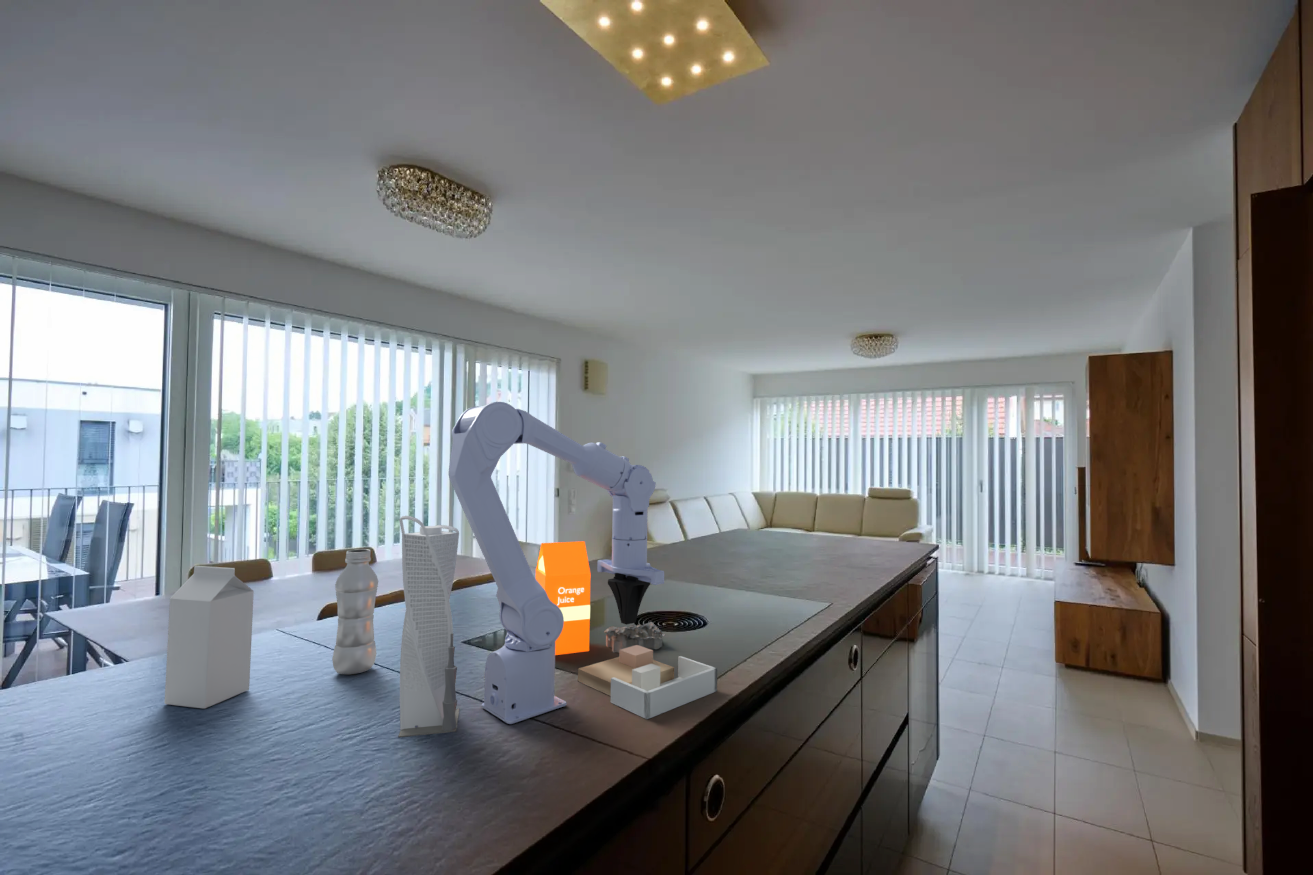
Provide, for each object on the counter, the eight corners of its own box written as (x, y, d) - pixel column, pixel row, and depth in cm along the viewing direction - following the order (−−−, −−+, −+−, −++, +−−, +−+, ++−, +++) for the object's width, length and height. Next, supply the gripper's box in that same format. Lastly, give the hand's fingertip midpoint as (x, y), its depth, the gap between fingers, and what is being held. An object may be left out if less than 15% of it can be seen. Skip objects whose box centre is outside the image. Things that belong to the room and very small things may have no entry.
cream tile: (631, 696, 88) (640, 700, 86) (632, 669, 88) (641, 673, 86) (650, 689, 90) (660, 693, 89) (651, 663, 91) (660, 666, 89)
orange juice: (533, 644, 113) (535, 540, 114) (577, 639, 117) (579, 538, 118) (543, 657, 106) (545, 545, 107) (589, 651, 110) (591, 543, 111)
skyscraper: (385, 740, 74) (393, 518, 75) (396, 714, 82) (403, 513, 83) (456, 733, 76) (462, 517, 78) (459, 708, 84) (465, 512, 85)
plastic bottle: (384, 666, 100) (388, 548, 101) (360, 680, 93) (364, 554, 94) (348, 664, 101) (352, 547, 102) (322, 678, 94) (327, 553, 95)
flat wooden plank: (618, 699, 87) (618, 685, 87) (577, 681, 94) (578, 668, 94) (674, 679, 96) (674, 667, 96) (633, 664, 103) (633, 652, 103)
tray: (646, 719, 81) (647, 693, 81) (610, 702, 86) (610, 678, 86) (716, 690, 91) (717, 668, 91) (680, 677, 97) (680, 655, 97)
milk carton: (204, 709, 82) (211, 572, 82) (163, 705, 83) (170, 570, 84) (249, 690, 89) (255, 564, 89) (210, 686, 90) (217, 562, 91)
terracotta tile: (635, 668, 95) (635, 655, 95) (619, 661, 98) (619, 649, 98) (652, 662, 98) (653, 650, 98) (636, 656, 101) (637, 644, 101)
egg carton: (613, 656, 108) (613, 633, 108) (602, 644, 115) (602, 622, 115) (666, 650, 112) (667, 628, 112) (653, 638, 119) (653, 618, 119)
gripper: (678, 540, 93) (677, 627, 92) (620, 532, 103) (619, 610, 103) (645, 544, 88) (644, 636, 87) (587, 535, 98) (586, 616, 98)
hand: (628, 622), depth 95 cm, fingers closed
